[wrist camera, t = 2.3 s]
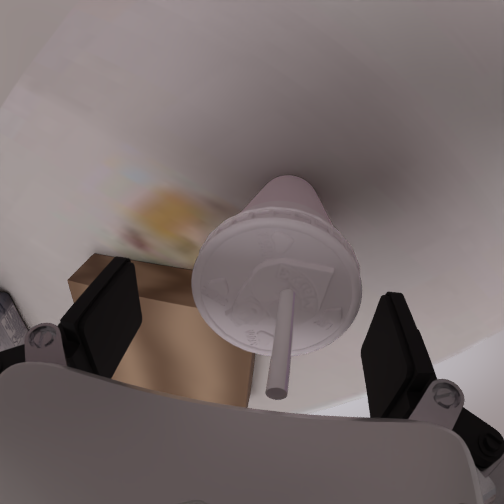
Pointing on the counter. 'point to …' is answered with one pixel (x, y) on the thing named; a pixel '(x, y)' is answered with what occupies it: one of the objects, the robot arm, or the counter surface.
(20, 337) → the juice carton
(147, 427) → the robot arm
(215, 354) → the plinth
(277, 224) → the smoothie
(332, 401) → the counter surface
